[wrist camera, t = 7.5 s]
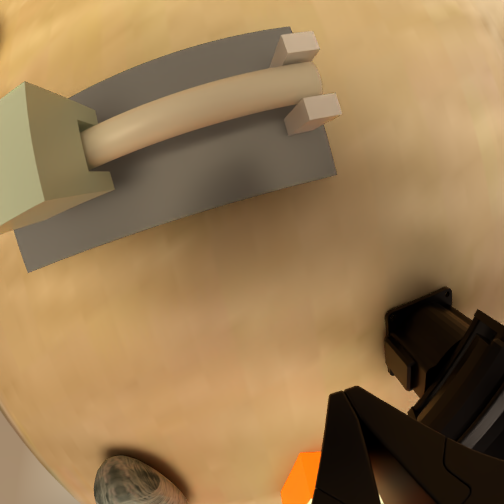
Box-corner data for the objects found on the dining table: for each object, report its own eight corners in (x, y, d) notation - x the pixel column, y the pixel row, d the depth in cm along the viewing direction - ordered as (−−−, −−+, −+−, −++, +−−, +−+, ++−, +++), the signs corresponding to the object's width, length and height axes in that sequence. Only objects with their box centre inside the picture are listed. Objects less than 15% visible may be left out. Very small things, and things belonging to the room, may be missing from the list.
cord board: (286, 36, 16) (308, -19, 9) (329, 175, 18) (377, 175, 12) (7, 146, 16) (-53, 144, 10) (38, 267, 19) (-17, 299, 12)
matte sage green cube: (95, 110, 13) (24, 81, 7) (114, 189, 14) (44, 200, 8) (28, 147, 13) (-49, 144, 7) (45, 220, 14) (-31, 245, 8)
